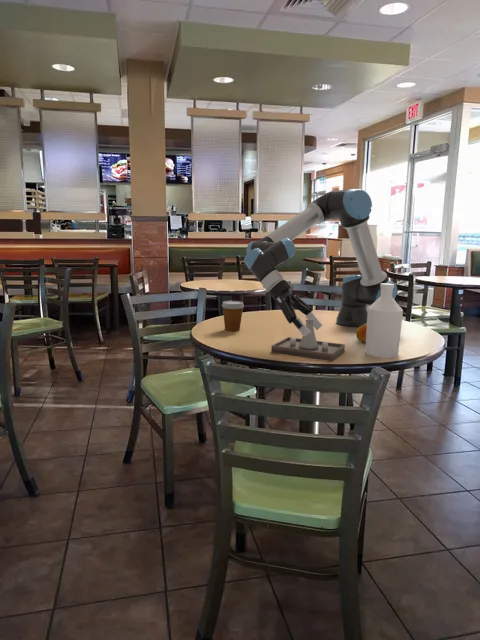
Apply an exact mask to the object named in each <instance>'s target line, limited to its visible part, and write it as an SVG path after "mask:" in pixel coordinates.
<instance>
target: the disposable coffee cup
mask: <svg viewBox="0 0 480 640" xmlns="http://www.w3.org/2000/svg"><path fill="white" fill-rule="evenodd" d="M221 307H222V312H223V313H222V314H223V322H224V324H223V325H224V330H225V331H226V332H239V331H241V325H242V323H241V322H242V317H243V316H242V315H243V310H244V307H245V305H244V302H243V301H239V300H225V301H222V304H221Z"/></svg>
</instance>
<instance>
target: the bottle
mask: <svg viewBox="0 0 480 640" xmlns="http://www.w3.org/2000/svg"><path fill="white" fill-rule="evenodd" d="M380 287H381V296H380V297H379V298H378V299H377V300H376V301H375V302H374V303H373V304H372V305H368V306H367V313H368V314H367V331H366V343H365V349H364V350H365V351H364V352H365V354H366V355H369V356H372V357H376V358H383V359H384V358H385V359H389V358H390V359H392V358H397V357H398V356H399V351H400V350H399V349H400V342H401V331H402V321H403V315H404V310H403V308H402V307H401V306H400V305H399V304H398V303H397V302H396V300H394V299H393V298H392V293H393V288H394V284H389V283H381V285H380Z"/></svg>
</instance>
